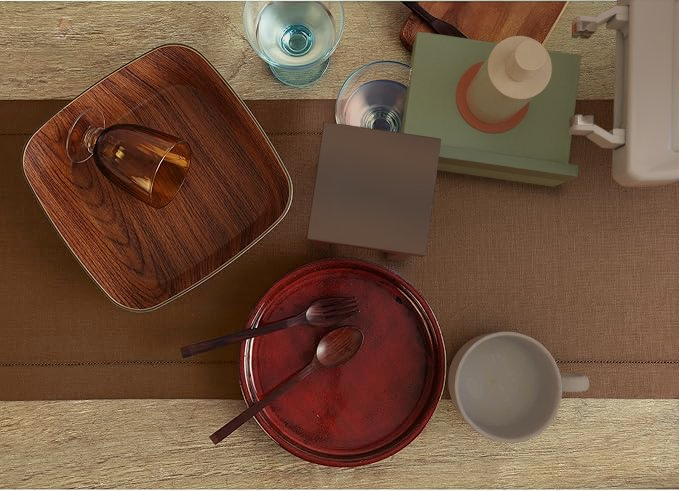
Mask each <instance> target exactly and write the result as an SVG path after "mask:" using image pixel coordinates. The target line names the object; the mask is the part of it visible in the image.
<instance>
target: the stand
mask: <svg viewBox="0 0 679 491" xmlns="http://www.w3.org/2000/svg"><path fill="white" fill-rule="evenodd" d="M440 146H441V139H440V138H434V137H427V136H420V135H413V134H406V133H401V132H398V131H392V130H384V129H378V128H370V127H364V126H359V125H351V124H344V123H337V122H330V121H323V124H322V130H321V136H320V144H319V149H318V150H319V151H318V157H317V165H316V172H315V178H314V185H313V192H312V199H311V206H310V211H309V219H308V225H307V231H306V241H307V242H311V243H312V245H313V247H314V249H316V250H320V251H321V250H322V251H329V248H330V245H333V246H334V245H335V246H340V247H342V246H343V247H348V248H355V249H362V250H369V251H374V252H375V251H376V252H384V253H386V254H385V259H386V260H391V261H401V260H406V259H407V258H410V257H419V258H423V257H426V256H427V251H428V250H427V249H428V242H429V234H430V227H431V221H432V220H431V219H432V212H433V204H434V198H435V191H436V190H435V189H436V183H437V174H438V170H437V168H438V161H439V153H440Z"/></svg>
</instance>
